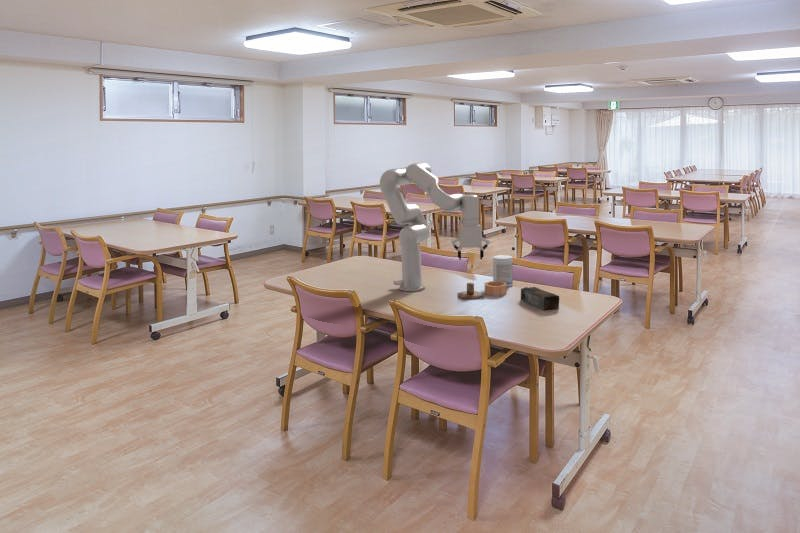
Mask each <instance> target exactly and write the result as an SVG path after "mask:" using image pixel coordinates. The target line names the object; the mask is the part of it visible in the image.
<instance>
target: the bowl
mask: <svg viewBox="0 0 800 533" xmlns="http://www.w3.org/2000/svg"><path fill="white" fill-rule="evenodd" d="M507 289H508V288H507V284H506V283H505V282H500V281H487V282H484V294H485V295H487V296H492V297H493V296H494V297H500V296H504V295H507V292H508V290H507Z"/></svg>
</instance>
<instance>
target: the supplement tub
mask: <svg viewBox="0 0 800 533" xmlns="http://www.w3.org/2000/svg"><path fill="white" fill-rule="evenodd" d="M513 264H514V262H513V256H512V255H509V254H508V255H507V254H506V255H505V254H502V255H501V254H500V255H499V254H498V255H495V256H493V259H492V280H493V281H500V282H505V283H506V284H507V287H512V286H513V277H514V276H513V274H514V272H513V270H514V269H513Z"/></svg>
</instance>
